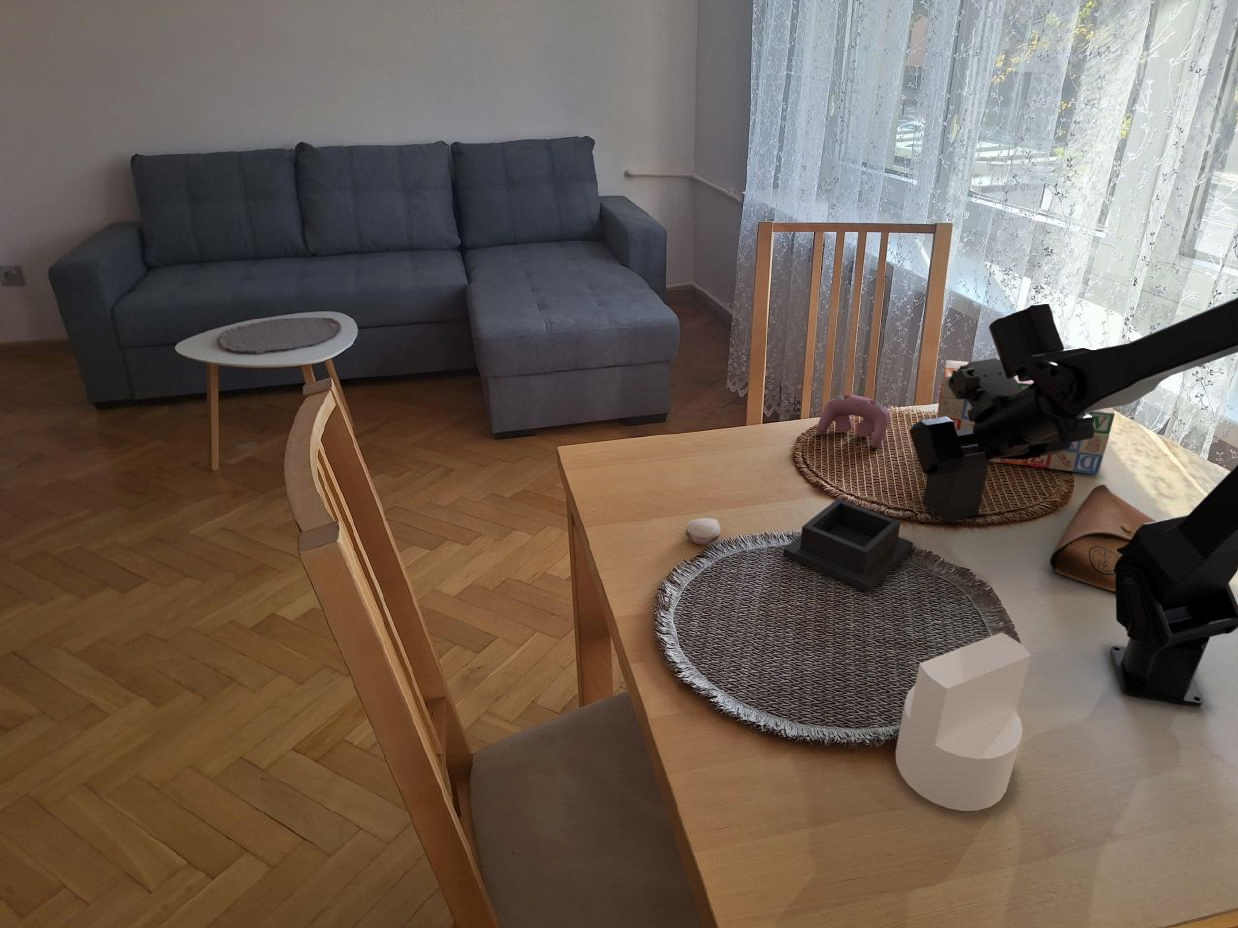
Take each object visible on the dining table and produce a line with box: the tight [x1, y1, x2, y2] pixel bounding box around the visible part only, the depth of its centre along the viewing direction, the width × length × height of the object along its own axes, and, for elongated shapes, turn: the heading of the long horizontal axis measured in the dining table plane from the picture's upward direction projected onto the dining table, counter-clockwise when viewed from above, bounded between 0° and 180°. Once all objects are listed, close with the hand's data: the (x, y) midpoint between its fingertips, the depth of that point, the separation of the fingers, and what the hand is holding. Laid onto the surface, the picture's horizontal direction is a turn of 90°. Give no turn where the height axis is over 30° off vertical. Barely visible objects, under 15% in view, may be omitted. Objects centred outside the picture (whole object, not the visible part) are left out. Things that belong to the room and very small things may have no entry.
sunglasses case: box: [1049, 484, 1157, 593], centre depth 97 cm, size 18×7×7 cm, turn 141°
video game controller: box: [816, 394, 891, 449], centre depth 123 cm, size 10×5×7 cm, turn 58°
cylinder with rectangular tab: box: [895, 632, 1032, 812], centre depth 68 cm, size 9×9×12 cm
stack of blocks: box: [936, 359, 1116, 475], centre depth 115 cm, size 21×6×12 cm, turn 70°
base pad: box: [782, 498, 914, 593], centre depth 97 cm, size 11×11×4 cm
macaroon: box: [684, 517, 721, 546], centre depth 101 cm, size 4×5×2 cm
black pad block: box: [922, 428, 990, 522], centre depth 104 cm, size 5×5×10 cm
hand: (952, 458), depth 104 cm, fingers open, 7 cm apart
